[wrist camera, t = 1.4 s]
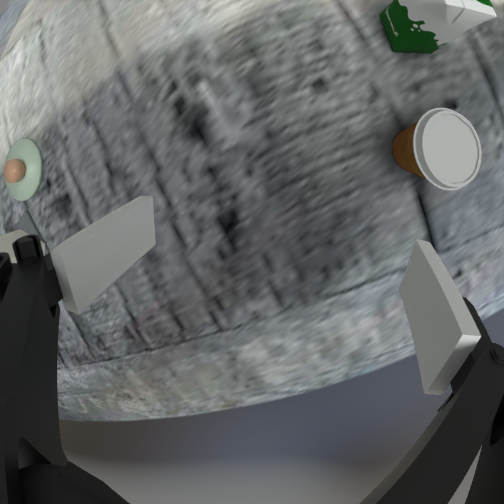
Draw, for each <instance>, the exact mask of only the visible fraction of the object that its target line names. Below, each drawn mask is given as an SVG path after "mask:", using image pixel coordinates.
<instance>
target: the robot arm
mask: <svg viewBox="0 0 504 504" xmlns="http://www.w3.org/2000/svg"><path fill="white" fill-rule="evenodd" d="M155 245H156V240H155V227H154V211H153V197H149V196H139V197H137V198H135V199H134V200H132V201H130V202H128V203H126V204H125V205H123V206H121V207H119V208H118V209H116V210H114V211H112V212H111V213H109V214H107V215H106V216H104V217H102V218H101V219H99V220H97V221H96V222H94V223H92V224H91V225H89V226H87V227H86V228H84V229H83V230H81V231H79V232H78V233H76V234H75V235H73V236H71V237H70V238H68V239H67V240H65V241H64V242H62V243H61V244H59V245H58V246H56V247H55V248H53V249H52V250H50V252H49V253H47V254H46V255H45V256H44V254H43V250H42V246H41V242H40V237H39V236H38V235H35V234H31V235H26V236H23V237H21V238H18V239H17V240H16V241H14V242H13V243H12V247H13V250H14V254H15V258H16V261H17V263H11V259H10V256H9V254H8V253H7V252H1V253H0V504H130V503H128V502H127V501H126V500H125V499H123V498H122V497H121V496H120V495H118V494H117V493H116V492H115V491H113V490H112V489H111V488H110V487H109V486H108V485H106V484H105V483H104V482H103V481H101V480H100V479H98V478H96V477H94V476H93V475H91V474H89V473H88V472H86V471H84V470H82V469H81V468H79V467H78V466H76V465H75V464H73V463H71V462H70V461H69V462H68V460H67V458H66V456H65V454H64V452H63V449H62V446H61V439H60V430H59V416H58V398H57V349H58V330H59V317H60V307H59V304H58V302H59V301H60V300H61V299H62V298H63V300H64V303H65V306H66V309H67V310H69V311H71V312H73V313H76V314H78V315H80V314H81V313H82V312H83V311H84V310H85V309H86V308H87V307H88V306H89V305H90V304H91V303H92V302H93V301H94V300H95V299H96V298H97V297H98V296H99V295H100V294H101V293H102V292H104V291H105V290H106V289H107V288H108V287H109V286H110V285H111V284H112V283H113V282H114V281H115V280H116V279H118V278H119V277H120V276H121V275H122V274H123V273H124V272H125V271H126V270H127V269H129V268H130V267H131V266H132V265H133V264H134V263H135V262H136V261H138V260H139V259H140V258H141V257H142V256H143V255H144V254H145V253H147V252H148V251H149V250H150V249H151V248H152V247H153V246H155ZM399 289H400V293H401V296H402V299H403V303H404V306H405V310H406V314H407V317H408V321H409V325H410V329H411V333H412V337H413V341H414V345H415V350H416V354H417V359H418V363H419V368H420V373H421V378H422V384H423V389H424V393H425V394H443V392H444V391H445V390H446V389H447V387H448V386H449V384H450V383H451V387H452V391H453V392H452V393H451V395H450V396H449V397H448V398H447V400H446V401H445V402H444V404H443V405H442V406H441V407H440V408H439V409H438V411H439V412H438V414H437V415H436V416H435V418H434V419H433V421H432V422H431V423H430V425H429V426H428V428H427V429H426V430H425V432H424V433H423V434H422V436H421V437H420V438H419V439H418V441H417V442H416V443H415V445H414V446H413V447H412V448H411V449H410V451H409V452H408V453H407V454H406V455H405V457H404V458H403V459H402V460H401V461H400V462H399V464H398V465H397V466H396V467H395V468H394V469H393V470H392V471H391V473H390V474H389V475H388V476H387V477H386V478H385V479H384V480H383V481H382V482H381V483H380V484H379V485H378V486H377V487H376V488H375V489H374V490H373V491H372V492H371V493H370V494H369V495H368V496H367V497H366V498H365V499H364V500H363V501H362V502H361V503H360V504H448V502H449V501H450V499H451V498H452V496H453V495H454V493H455V492H456V490H457V488H458V487H459V485H460V484H461V482H462V480H463V479H464V477H465V475H466V474H467V472H468V470H469V468H470V466H471V465H472V463H473V461H474V459H475V457H476V455H477V453H478V451H479V449H480V447H481V445H482V448H481V453H480V456H479V460H478V464H477V468H476V471H475V475H474V478H473V481H472V485H471V487H470V491H469V493H468V497H467V499H466V502H465V504H504V348H503V347H502V346H500V345H498V344H496V343H492V342H491V340H490V337H489V336H488V333H487V331H486V329H485V327H484V325H483V323H481V319H480V317H479V316H478V313H477V311H476V310H475V308H474V306H473V305H472V304H471V303H470V302H469V301H468V300H467V299H466V298H464V297H462V296H461V295H460V293H459V291H458V289H457V287H456V285H455V284H454V282H453V280H452V278H451V277H450V275H449V273H448V271H447V270H446V268H445V266H444V265H443V263H442V261H441V260H440V258H439V256H438V255H437V253H436V252H435V250H434V248H433V247H432V245H431V244H430V242H426V241H422V240H417V239H416V240H415V243H414V246H413V250H412V253H411V256H410V259H409V262H408V265H407V268H406V271H405V274H404V277H403V280H402V282H401V285H400V288H399ZM482 443H483V444H482Z"/></svg>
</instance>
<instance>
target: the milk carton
mask: <svg viewBox="0 0 504 504" xmlns="http://www.w3.org/2000/svg"><path fill="white" fill-rule="evenodd" d="M492 7H493V6H492V4H491V2H490V0H393V2H392V3H391V4H390V5H389V6H388V7H387V8H386V9H385V10H384V11H383V12H382V13H381V14H380V17H381V20H382V22H383V25H384V28H385V30H386V33H387V36H388V38H389V41H390V44H391V47H392V50H393V52H415V53H433V52H434V51H436V50H437V49H439V48H440V47H442V46H443V45H445V44H446V43H448V42H449V41H451V40H452V39H454V38H456V37H457V36H459V35H460V34H462V33H464V32H465V31H467V30H468V29H470V28H472V27H474V26H476V25H478V24H480V23H483V22H485V21H487V20H490V19H492V18H495V17H496V13H495V11H494V10H493V8H492Z"/></svg>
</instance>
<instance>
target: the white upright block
mask: <svg viewBox="0 0 504 504" xmlns="http://www.w3.org/2000/svg"><path fill="white" fill-rule="evenodd" d="M26 235H30V234H28V233H26V232H25V231H23V230H21V229H19V230H16V231H13V232H10V233H8V234H5V235H2V236H0V253H1V252H7V253H8V254H9V256H10V259H11V263H17V261H16V258H15V254H14V250H13V247H12V243H13V242H14V241H16V240H17V239H18V238H21V237H23V236H26ZM40 242H41V246H42V250H43V254H44V252H45V243H44V242H42V241H40Z"/></svg>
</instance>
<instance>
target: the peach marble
mask: <svg viewBox="0 0 504 504" xmlns="http://www.w3.org/2000/svg"><path fill="white" fill-rule="evenodd" d="M25 172H26V167H25V164H24V163H23V162H21V160H19V159H11V160H8V161H7V163H6V165H5V168H4V176H5V179H6V181H7V182H8V183H15V182H19V181H20V180H21V178H23V177H24V175H25Z"/></svg>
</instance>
